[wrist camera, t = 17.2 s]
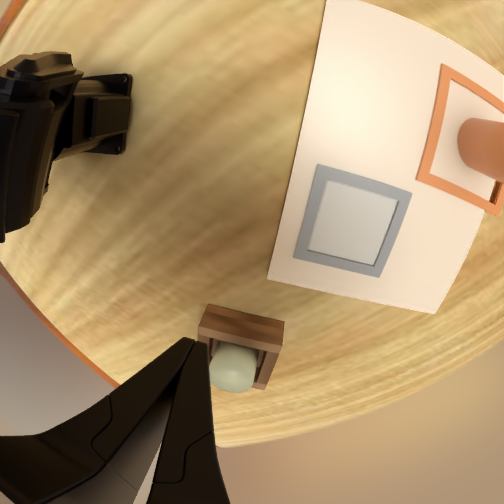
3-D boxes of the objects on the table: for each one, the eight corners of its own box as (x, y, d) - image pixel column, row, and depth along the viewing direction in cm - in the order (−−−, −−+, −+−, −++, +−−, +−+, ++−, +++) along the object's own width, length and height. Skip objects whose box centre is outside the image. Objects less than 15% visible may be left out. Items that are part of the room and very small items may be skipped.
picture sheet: (267, 274, 22) (266, 281, 22) (327, -5, 12) (328, -10, 11) (443, 312, 21) (446, 318, 21) (520, 92, 11) (526, 93, 10)
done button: (216, 354, 26) (205, 385, 23) (219, 327, 24) (208, 360, 21) (255, 364, 26) (248, 396, 23) (263, 338, 24) (257, 372, 21)
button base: (204, 352, 28) (195, 373, 26) (208, 303, 25) (198, 326, 22) (268, 367, 28) (264, 390, 25) (284, 321, 24) (282, 345, 22)
